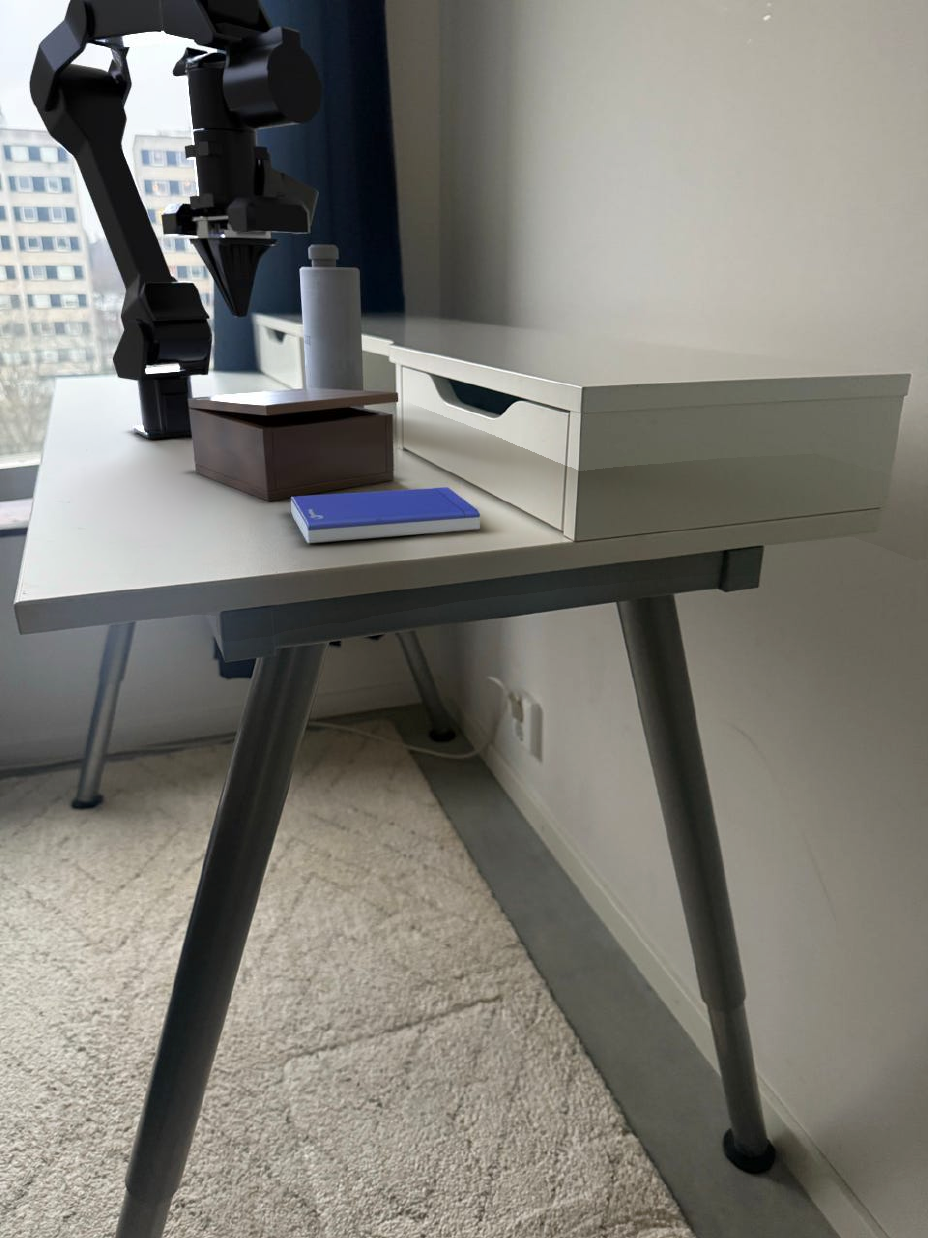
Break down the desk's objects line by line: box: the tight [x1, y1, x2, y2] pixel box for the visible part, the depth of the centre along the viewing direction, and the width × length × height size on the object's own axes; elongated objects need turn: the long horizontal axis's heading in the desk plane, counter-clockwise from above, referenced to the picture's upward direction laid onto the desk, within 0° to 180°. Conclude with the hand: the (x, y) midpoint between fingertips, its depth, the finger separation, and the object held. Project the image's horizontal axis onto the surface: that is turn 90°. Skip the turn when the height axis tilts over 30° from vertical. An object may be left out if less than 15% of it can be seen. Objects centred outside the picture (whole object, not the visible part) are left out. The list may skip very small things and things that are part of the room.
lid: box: [188, 387, 399, 416], centre depth 75 cm, size 14×13×1 cm
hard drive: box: [290, 486, 481, 544], centre depth 64 cm, size 2×8×12 cm
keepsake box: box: [189, 406, 395, 502], centre depth 77 cm, size 14×13×6 cm
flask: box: [299, 244, 365, 408], centre depth 105 cm, size 15×6×20 cm, turn 19°
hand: (240, 316), depth 83 cm, fingers closed
